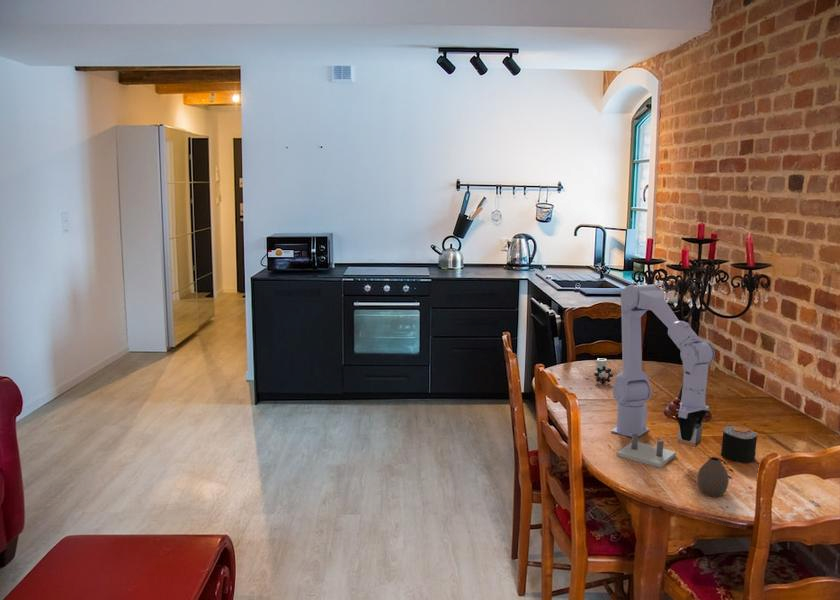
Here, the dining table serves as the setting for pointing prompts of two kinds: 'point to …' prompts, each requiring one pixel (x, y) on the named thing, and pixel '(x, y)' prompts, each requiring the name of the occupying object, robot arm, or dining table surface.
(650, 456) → the pin board
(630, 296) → the robot arm
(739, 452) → the sushi
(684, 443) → the sleeve
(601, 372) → the valve
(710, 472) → the vase
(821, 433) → the dining table surface
